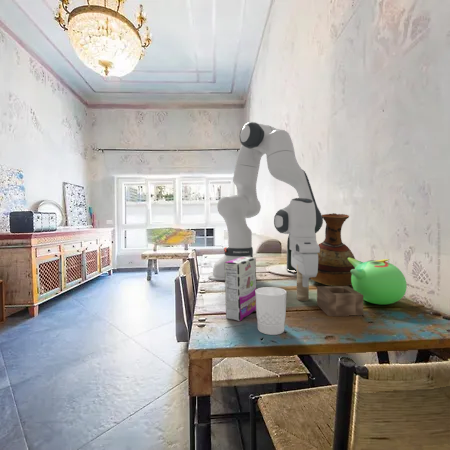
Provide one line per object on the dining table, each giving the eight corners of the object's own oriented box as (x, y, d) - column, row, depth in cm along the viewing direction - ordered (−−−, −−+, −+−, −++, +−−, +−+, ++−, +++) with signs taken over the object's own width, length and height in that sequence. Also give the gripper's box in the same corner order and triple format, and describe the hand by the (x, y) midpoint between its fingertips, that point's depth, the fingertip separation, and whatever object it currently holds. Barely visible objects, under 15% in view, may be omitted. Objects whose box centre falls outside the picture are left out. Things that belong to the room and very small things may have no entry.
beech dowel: (298, 301, 92) (298, 265, 92) (295, 297, 96) (295, 263, 96) (310, 300, 92) (310, 265, 92) (306, 297, 96) (306, 263, 96)
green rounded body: (414, 314, 79) (415, 264, 78) (350, 308, 84) (351, 261, 84) (396, 296, 96) (397, 255, 95) (344, 293, 101) (345, 253, 101)
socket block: (328, 316, 78) (328, 295, 78) (317, 304, 88) (317, 286, 88) (363, 315, 78) (363, 295, 78) (347, 304, 88) (347, 286, 88)
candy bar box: (243, 307, 87) (242, 256, 86) (257, 310, 84) (256, 257, 83) (224, 318, 77) (223, 261, 77) (239, 322, 74) (239, 262, 74)
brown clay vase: (310, 289, 107) (310, 213, 106) (304, 277, 127) (304, 213, 126) (364, 291, 103) (364, 212, 102) (349, 279, 123) (349, 213, 122)
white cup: (267, 339, 64) (267, 297, 64) (249, 327, 71) (249, 289, 71) (293, 332, 68) (293, 292, 67) (273, 321, 75) (273, 285, 74)
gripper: (286, 242, 104) (287, 277, 104) (301, 248, 84) (301, 292, 84) (303, 241, 104) (303, 277, 104) (321, 248, 84) (321, 292, 84)
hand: (302, 284), depth 94 cm, fingers closed on beech dowel, 4 cm apart
